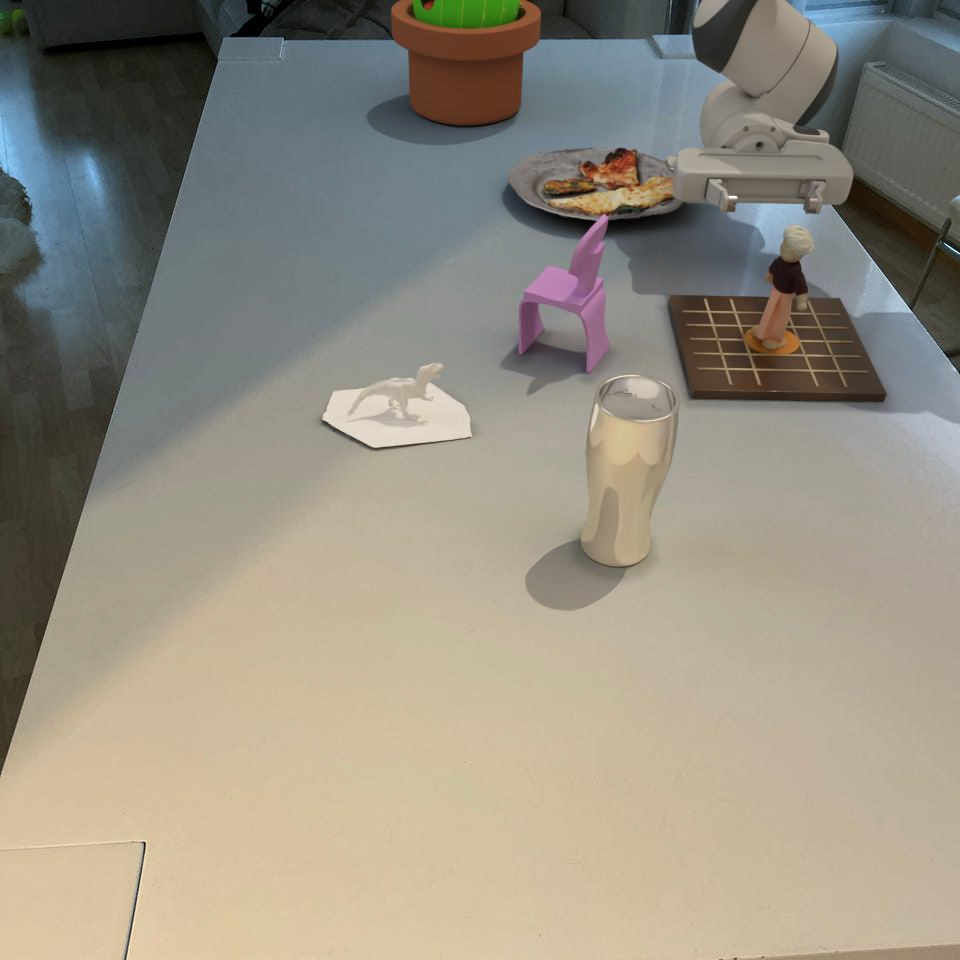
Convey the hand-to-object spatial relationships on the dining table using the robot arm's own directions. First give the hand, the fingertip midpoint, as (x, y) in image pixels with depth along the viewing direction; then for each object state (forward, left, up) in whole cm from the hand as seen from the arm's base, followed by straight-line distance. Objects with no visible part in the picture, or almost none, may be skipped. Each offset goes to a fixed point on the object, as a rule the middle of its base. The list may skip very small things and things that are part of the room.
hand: (772, 206), depth 108 cm
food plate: (+16, -28, -11) cm, 34 cm away
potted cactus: (+35, -61, -11) cm, 71 cm away
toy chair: (+23, +12, -11) cm, 28 cm away
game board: (0, +11, -11) cm, 16 cm away
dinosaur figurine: (+40, +25, -11) cm, 49 cm away
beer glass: (+20, +44, -11) cm, 50 cm away
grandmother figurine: (0, +12, -10) cm, 15 cm away
